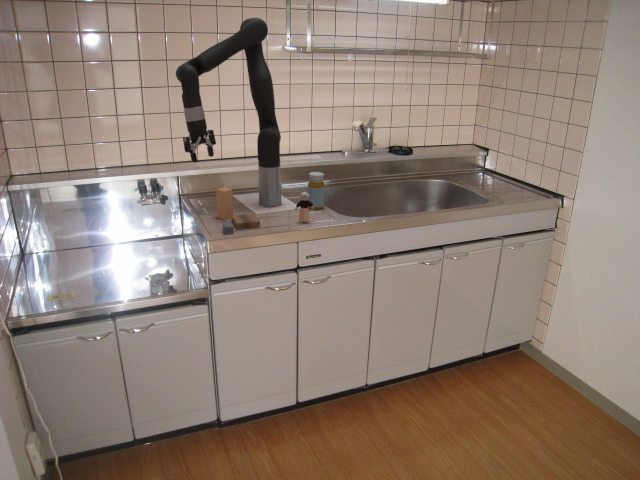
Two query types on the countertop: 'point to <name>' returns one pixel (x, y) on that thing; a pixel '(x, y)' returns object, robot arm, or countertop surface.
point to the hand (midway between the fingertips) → (203, 159)
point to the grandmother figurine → (304, 208)
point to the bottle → (316, 190)
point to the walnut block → (245, 221)
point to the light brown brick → (224, 203)
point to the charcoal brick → (228, 227)
